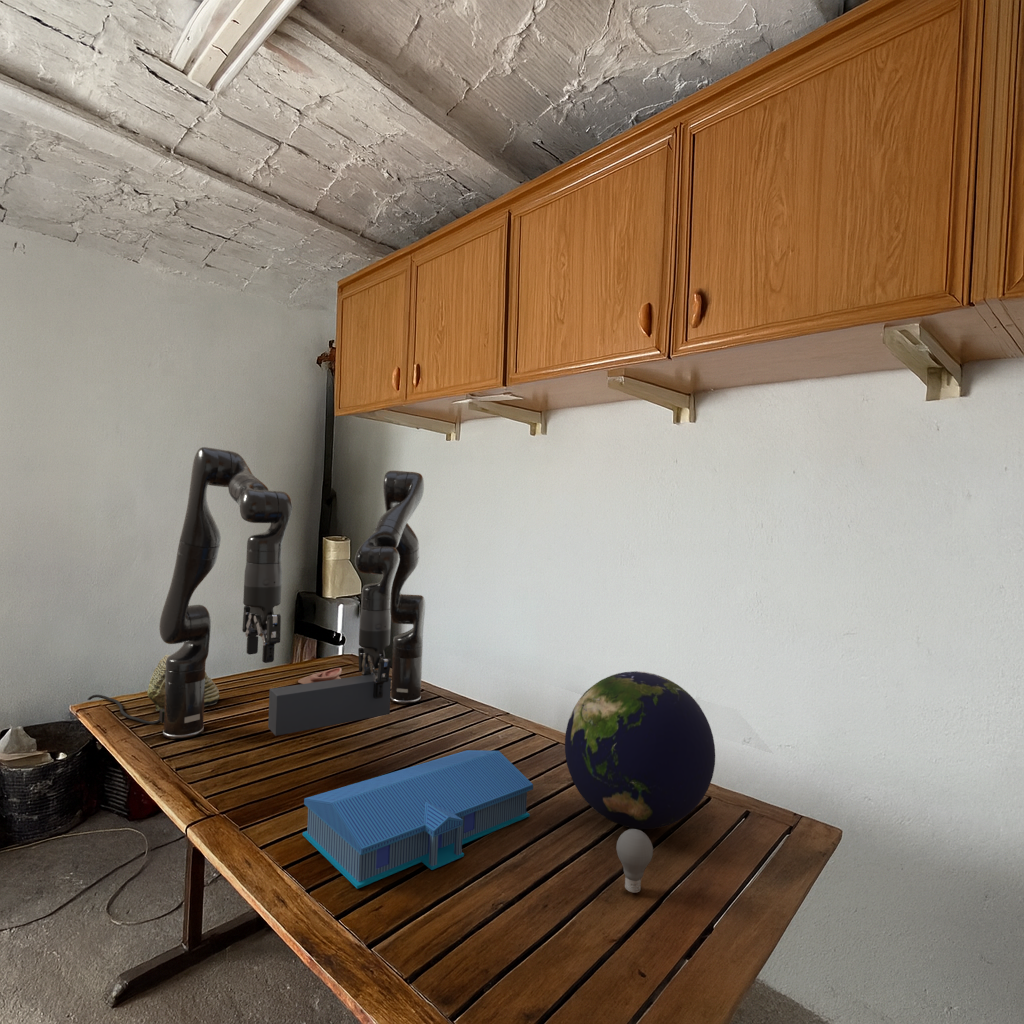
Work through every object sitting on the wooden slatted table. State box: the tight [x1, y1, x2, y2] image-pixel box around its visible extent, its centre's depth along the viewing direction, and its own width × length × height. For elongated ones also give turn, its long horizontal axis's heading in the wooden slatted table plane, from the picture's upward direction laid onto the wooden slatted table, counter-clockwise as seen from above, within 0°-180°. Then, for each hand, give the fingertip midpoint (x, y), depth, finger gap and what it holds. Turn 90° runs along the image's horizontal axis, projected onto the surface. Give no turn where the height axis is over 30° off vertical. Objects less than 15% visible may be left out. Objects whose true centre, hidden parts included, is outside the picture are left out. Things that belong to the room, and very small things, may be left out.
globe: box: [564, 670, 716, 830], centre depth 129 cm, size 30×30×30 cm
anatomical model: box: [297, 667, 343, 684], centre depth 214 cm, size 13×4×12 cm
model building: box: [302, 749, 534, 890], centre depth 123 cm, size 39×24×10 cm, turn 132°
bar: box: [267, 673, 392, 737], centre depth 150 cm, size 28×6×9 cm, turn 127°
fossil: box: [147, 654, 221, 712], centre depth 185 cm, size 9×18×15 cm, turn 132°
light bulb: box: [615, 828, 654, 894], centre depth 106 cm, size 6×6×10 cm
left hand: (259, 657), depth 137 cm, fingers open, 8 cm apart
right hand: (372, 694), depth 156 cm, fingers closed on bar, 5 cm apart
